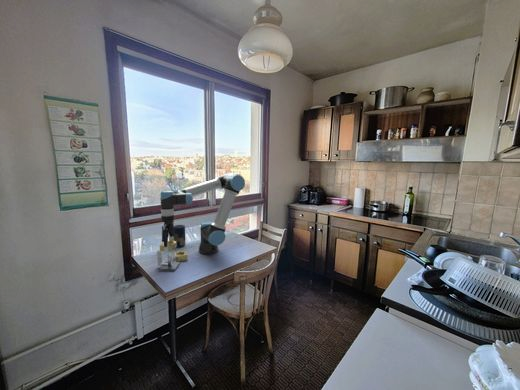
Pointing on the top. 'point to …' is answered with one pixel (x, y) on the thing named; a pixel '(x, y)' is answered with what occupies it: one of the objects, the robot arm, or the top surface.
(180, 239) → the canister
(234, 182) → the robot arm
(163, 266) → the keeper
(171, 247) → the link
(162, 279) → the top surface
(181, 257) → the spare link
